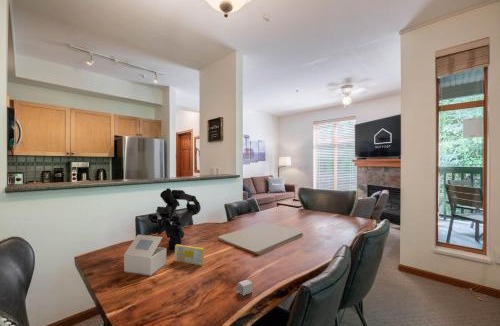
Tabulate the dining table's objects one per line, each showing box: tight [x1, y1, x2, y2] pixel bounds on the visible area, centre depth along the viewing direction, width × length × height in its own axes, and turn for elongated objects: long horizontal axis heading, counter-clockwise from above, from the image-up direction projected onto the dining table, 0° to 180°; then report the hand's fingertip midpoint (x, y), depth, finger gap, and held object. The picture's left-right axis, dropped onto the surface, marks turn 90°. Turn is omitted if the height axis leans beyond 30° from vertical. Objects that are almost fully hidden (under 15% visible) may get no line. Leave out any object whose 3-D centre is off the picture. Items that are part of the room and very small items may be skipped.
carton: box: [123, 246, 167, 277], centre depth 110 cm, size 12×14×8 cm
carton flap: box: [123, 234, 163, 258], centre depth 108 cm, size 11×14×1 cm
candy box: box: [174, 244, 205, 267], centre depth 116 cm, size 16×2×8 cm, turn 71°
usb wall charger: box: [233, 279, 254, 297], centre depth 90 cm, size 4×7×4 cm, turn 125°
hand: (158, 234), depth 119 cm, fingers closed
